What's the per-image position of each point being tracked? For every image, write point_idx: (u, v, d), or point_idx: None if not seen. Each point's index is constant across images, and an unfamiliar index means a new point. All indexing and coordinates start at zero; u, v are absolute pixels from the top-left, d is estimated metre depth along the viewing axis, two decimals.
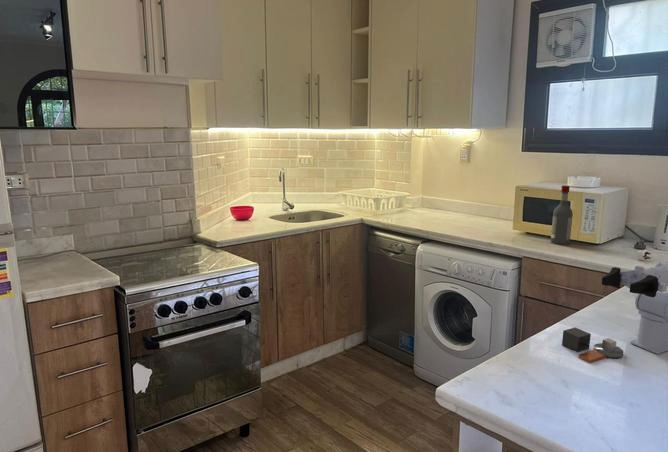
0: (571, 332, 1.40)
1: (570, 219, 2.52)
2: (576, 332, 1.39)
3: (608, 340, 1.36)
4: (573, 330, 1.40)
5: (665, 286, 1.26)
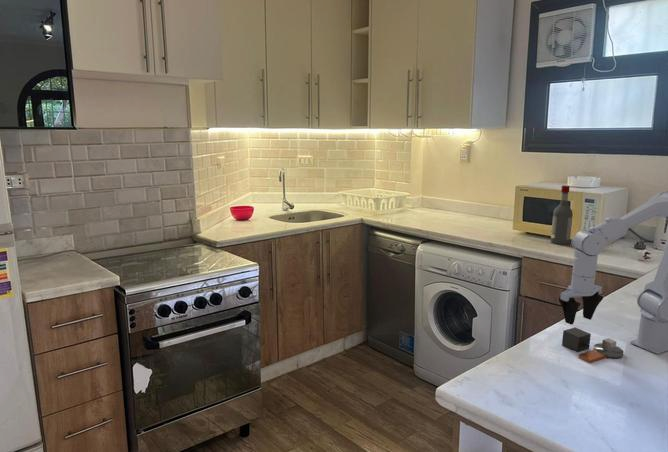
0: (571, 332, 1.40)
1: (570, 219, 2.52)
2: (576, 332, 1.39)
3: (608, 340, 1.36)
4: (573, 330, 1.40)
5: (562, 295, 1.34)
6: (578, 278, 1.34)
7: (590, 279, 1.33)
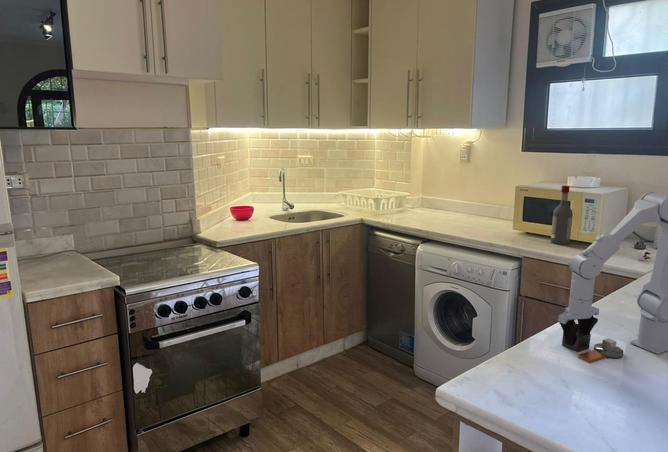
0: None
1: (570, 219, 2.52)
2: None
3: (608, 340, 1.36)
4: None
5: (560, 318, 1.36)
6: (575, 301, 1.36)
7: (587, 302, 1.35)
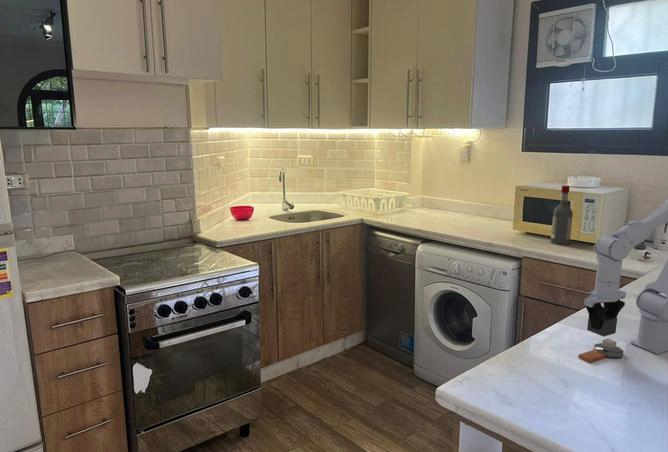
0: None
1: (570, 219, 2.52)
2: None
3: (608, 340, 1.36)
4: None
5: (586, 301, 1.32)
6: (602, 283, 1.32)
7: (615, 284, 1.31)
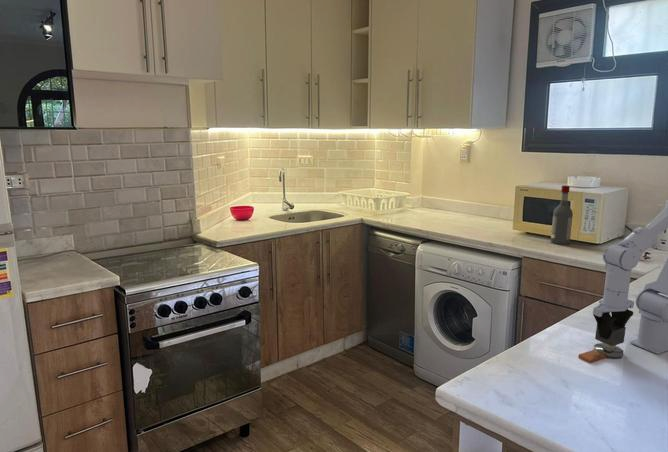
0: None
1: (570, 219, 2.52)
2: None
3: None
4: None
5: (595, 310, 1.31)
6: (611, 293, 1.32)
7: (623, 294, 1.31)
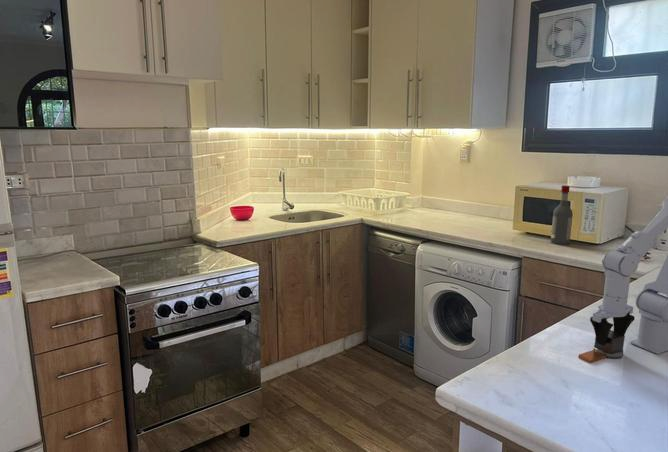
0: None
1: (570, 219, 2.52)
2: (609, 334, 1.36)
3: None
4: None
5: (594, 316, 1.32)
6: (610, 298, 1.32)
7: (623, 300, 1.31)
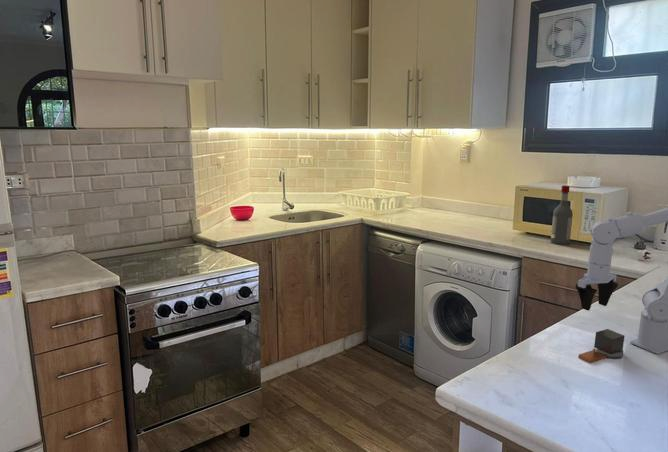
0: (604, 334, 1.36)
1: (570, 219, 2.52)
2: (609, 334, 1.36)
3: None
4: (606, 332, 1.37)
5: (579, 282, 1.40)
6: (594, 266, 1.41)
7: (606, 267, 1.40)
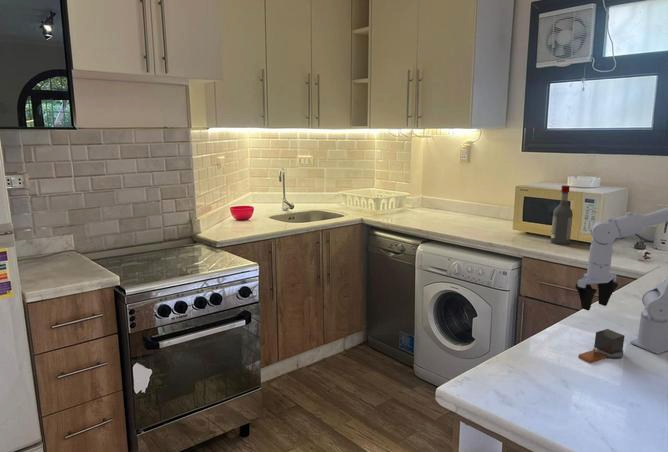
0: (604, 334, 1.36)
1: (570, 219, 2.52)
2: (609, 334, 1.36)
3: None
4: (606, 332, 1.37)
5: (579, 282, 1.41)
6: (594, 266, 1.41)
7: (606, 267, 1.40)
